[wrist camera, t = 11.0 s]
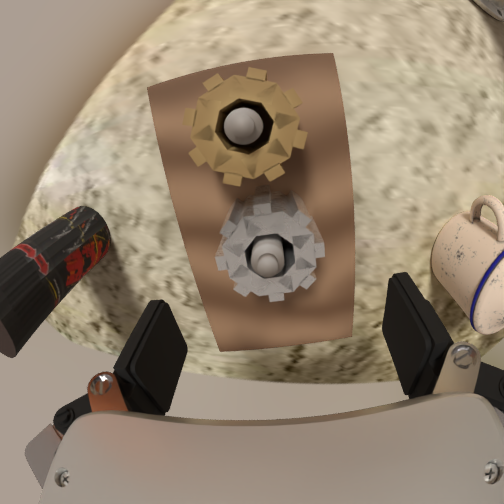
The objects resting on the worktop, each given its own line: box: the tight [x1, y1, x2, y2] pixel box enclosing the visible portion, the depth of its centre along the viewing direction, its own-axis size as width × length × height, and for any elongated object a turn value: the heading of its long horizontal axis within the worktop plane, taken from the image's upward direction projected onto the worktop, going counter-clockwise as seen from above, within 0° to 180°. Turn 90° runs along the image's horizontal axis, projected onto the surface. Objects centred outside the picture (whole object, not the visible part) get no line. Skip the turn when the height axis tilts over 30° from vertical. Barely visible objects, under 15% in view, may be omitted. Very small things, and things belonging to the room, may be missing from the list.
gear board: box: [147, 53, 355, 352], centre depth 19 cm, size 26×14×8 cm, turn 10°
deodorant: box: [0, 206, 110, 358], centre depth 17 cm, size 6×6×15 cm
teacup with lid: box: [432, 195, 504, 334], centre depth 17 cm, size 12×9×12 cm
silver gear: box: [215, 185, 325, 302], centre depth 19 cm, size 7×7×5 cm
